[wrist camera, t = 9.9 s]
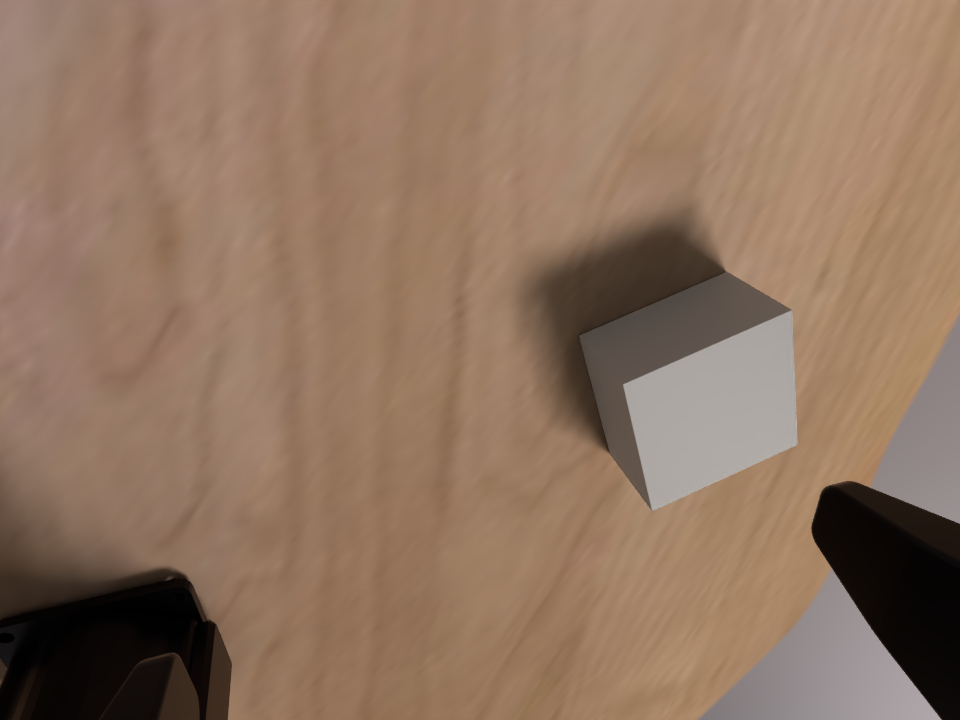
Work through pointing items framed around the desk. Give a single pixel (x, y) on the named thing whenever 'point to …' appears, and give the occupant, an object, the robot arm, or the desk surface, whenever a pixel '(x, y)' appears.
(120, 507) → the desk surface
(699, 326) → the slate block
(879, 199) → the desk surface
